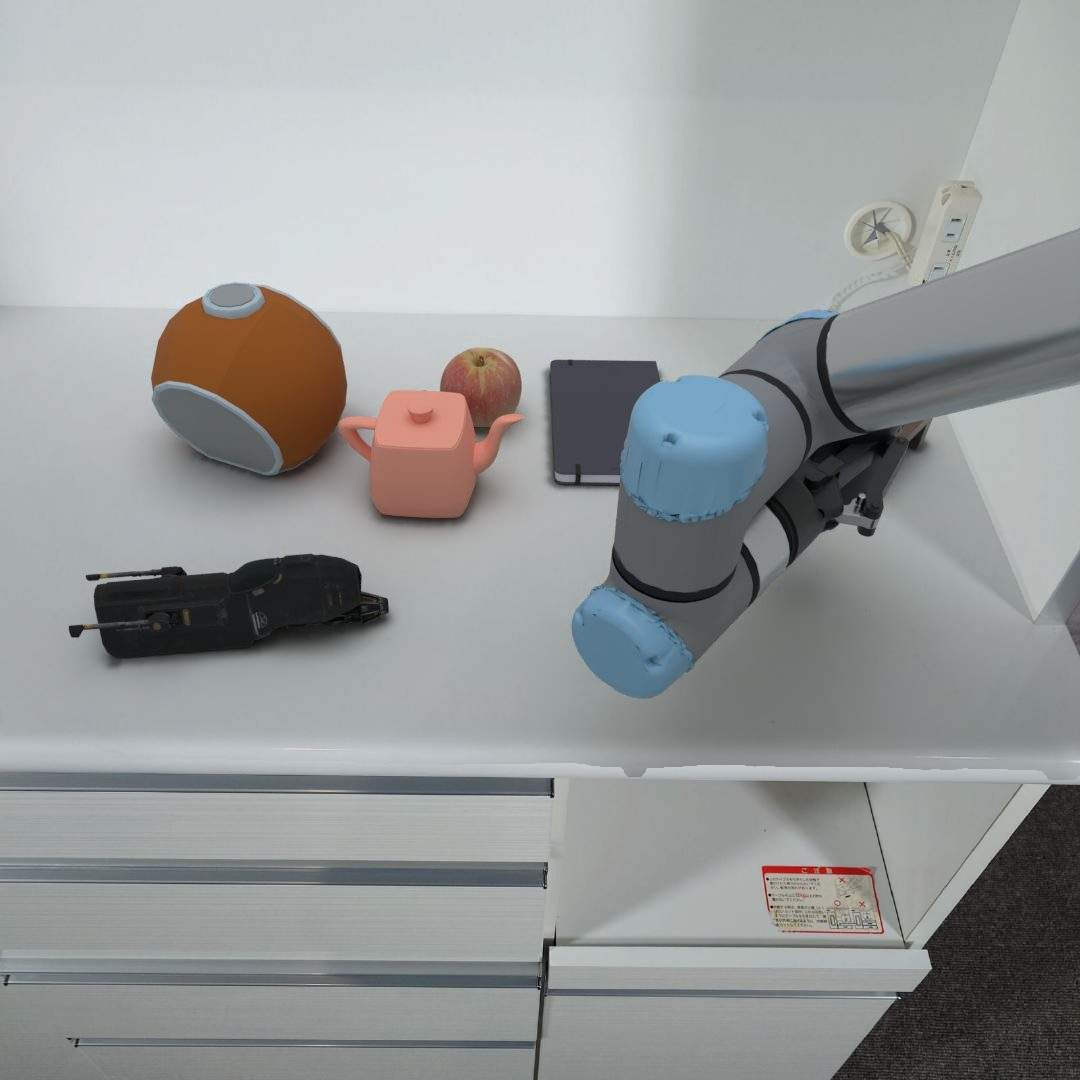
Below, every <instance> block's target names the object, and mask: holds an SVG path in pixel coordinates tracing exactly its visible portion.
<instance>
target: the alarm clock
mask: <svg viewBox="0 0 1080 1080" xmlns="http://www.w3.org/2000/svg"><path fill="white" fill-rule="evenodd" d="M150 381H151V388H152V396H151V402H152V405H153V406H154V408H155V411H156V412H157V414H158V416H159V417H160V419H162V421H163V422H164V423H165V424H166V425H167V426H168V427H169V428H170V430H171V431H173V433H174V434H175V435H176V436H177V437H179V438H180V439H181V440H183V441H184V442H185V443H186V444H188V445H189V446H190V447H191V448H192V449H194V450H195V451H197V452H198V453H200V454H201V455H204V456H205V457H206V458H209V459H211V460H214V461H219V462H221V463H224V464H228V465H231V466H235V467H237V468H241V469H244V470H247V471H251V472H254V473H257V474H260V475H264V476H275V475H279V474H281V473H285V472H288V471H291V470H295V469H297V468H298V467H299V466H301V465H303V464H304V463H306V462H307V461H309V460H310V459H312V458H313V457H314V456H315V454H316V453H317V452H318V451H319V450H320V449H321V448H322V446H323V445H324V444H325V443H326V442H327V441H328V440H329V438H330V436H331V435H332V433H333V432H334V431H335V429H336V428H337V427H338V424H339V422H340V421H341V417H342V416H343V412H344V410H345V408H346V404H347V393H348V381H347V373H346V365H345V363H344V357H343V350H342V344H341V343H340V341H339V340H338V338H337V337H336V335H335V333H334V331H333V330H332V328H331V326H330V325H328V323H327V322H326V321H324V319H322V317H321V316H320V315H318V314H317V312H315V311H314V309H312V308H311V307H309V306H308V305H307V304H305V303H303V302H302V301H300V300H299V299H297V298H296V297H295V296H292V295H291V294H290V293H287V292H285V291H283V290H280V289H277V288H274V287H272V286H269V285H267V284H256V283H249V282H237V281H233V282H228V283H227V282H226V283H222V284H219V285H216V286H214V287H211V288H210V289H208V290H207V291H206V293H205V294H204V295H203V296H201V297H199V298H196V299H195V300H193V301H190V302H188V303H186V304H185V305H184V306H182V308H180V309H179V310H178V311H177V312H176V313H175V314H174V315H173V316H172V317H171V318H170V319H169V320H168V322H167V324H166V326H165V327H164V329H163V331H162V333H161V335H160V337H159V338H158V340H157V345H156V350H155V355H154V361H153V366H152V371H151V376H150Z"/></svg>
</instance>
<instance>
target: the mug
mask: <svg viewBox="0 0 1080 1080" xmlns="http://www.w3.org/2000/svg"><path fill="white" fill-rule="evenodd" d="M899 426H900V425H899ZM899 426H895V427H890V428H886V429H882V430H878V431H876V432H872V433H868V434H864V435H860V436H856V437H851V438H847V439H842V440H838V441H834V442H830V443H827V444H824V445H822V446H820V447H819V448H818V449H817V450H816V451H815V454H814V457H813V462H815V463H819V464H821V463H822V462H823V461H824V460H826V459H827V458H828V457H830V456H831V455H833V456H836V455H838V454H839V453H840V452H841V451H843V450H844V449H845V448H847V447H848V446H849V445H851V444H852V443H853V444H861V443H871V442H876V441H878V443H877V446H876V449H875V453H874V456H873V459H872V462H871V465H869V466H868V467H867V468H866V469H864V470H863V471H862V472H861V473H859V474H858V475H857V476H856V477H854V478H853V479H852V480H851V481H849V482H848V483H847V484H846V485H844V486H843V487H842V488H841V489H840V491H841V496H842V501H843V505H848V504H850V503H851V501H852V500H853V499H854V498H857V497H858V495H859V494H860V493H863V494H864V492H865V489H866V486H867V484H868V482H869V480H870V479H871V477H872V475H873V473H874V472H875V470H876V468H877V466H878V465H879V463H880V461H881V459H882V457H880V455H881V452H882V450H883V447H884V445H885V442H887V441H889V440H890V439H891V438H893V436H896V433H897V431H898V428H899Z"/></svg>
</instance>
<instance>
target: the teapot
mask: <svg viewBox="0 0 1080 1080" xmlns="http://www.w3.org/2000/svg"><path fill="white" fill-rule="evenodd" d="M523 419H524V415H523V414H520V413H514V414H508V415H503V416H501V417H499V418H498V419H496V420H495V421H494V423H493V424H492V426H491V427H489V428H490V429H489V431H488V434H487V436H486V438H485V439H484V440H482V441H479V442H477V439H476V432H475V427H474V426H473V422H472V418H471V415H470V411H469V408H468V405H467V402H466V400H465V397H464V396H463V395H462V394H460V393H452V392H440V390H439V391H436V390H417V389H414V390H413V389H410V390H409V389H404V390H403V389H399V390H397V389H396V390H392V391H390V392H389V393H388V394H387V395H386V396H385V398H384V400H383V402H382V405H381V407H380V410H379V412H378V416H377V417H370V416H361V415H359V416H358V415H352V416H345V417H343V418H342V419H340V420H339V422H338V424H337V429H338V431H339V434H340V436H341V437H342V439H343V441H345V443H347V444H348V445H349V447H351V448H352V449H353V450H354V451H355V452H356V453H358V454H359V455H360V456H361V457H363V458H364V459H365V460H366V461H368V463H369V484H370V485H369V486H370V493H371V494H370V495H371V499H372V502H373V505H374V506H375V508H376V509H377V510H378V512H379V513H380V514H381V515H385V516H393V517H394V516H395V517H407V518H427V519H428V518H429V519H430V518H432V519H453V518H459V517H461V516H462V515H463V514H464V513H465V511H466V509H467V507H468V505H469V503H470V500H471V497H472V495H473V493H474V490H475V486H476V482H477V477H478V474H481V473H483V472H484V471H486V470H487V469H490V467H491V466H492V465H493V464H494V462H495V460H496V459H497V456H498V453H499V451H500V446H501V442H502V439H503V436H504V434H505V432H506V431H507V429H508V428H510V426H512V425H513V424H516V423H517V422H520V421H522V420H523ZM358 430H370V431H374V432H373V436H372V441H371V442H372V443H371V446H370V445H369V444H368V443H367V442H366V441H365V440H364V439H363V438H362V436H361V435H360V433H359V432H358Z"/></svg>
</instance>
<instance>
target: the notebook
mask: <svg viewBox="0 0 1080 1080" xmlns="http://www.w3.org/2000/svg"><path fill="white" fill-rule="evenodd" d="M657 363H658V362H657V360H620V359H619V360H618V359H617V360H613V359H610V360H609V359H608V360H607V359H553V360H551V361H550V363H549V370H550V372H549V390H550V410H551V411H550V413H551V435H552V437H551V438H552V439H551V440H552V464H553V465H552V466H553V479H554V482H555V483H556V484H559V485H563V486H565V485H567V486H570V485H572V486H619V485H620V475H621V471H620V469H621V468H620V464H621V452H622V451H623V450H624V442H625V440H626V437H627V433H628V428H629V423H630V418H631V413H632V410H633V408H634V405H635V403H636V402H637V400H638V399H639V397H640V396H641V395H642V394H643V393H644V392H645V391H646V390H647V389H649V388H650V387H652V386H653V385H655V384H657V383H658V382H661V379H660V374H659V369H658V364H657Z"/></svg>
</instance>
